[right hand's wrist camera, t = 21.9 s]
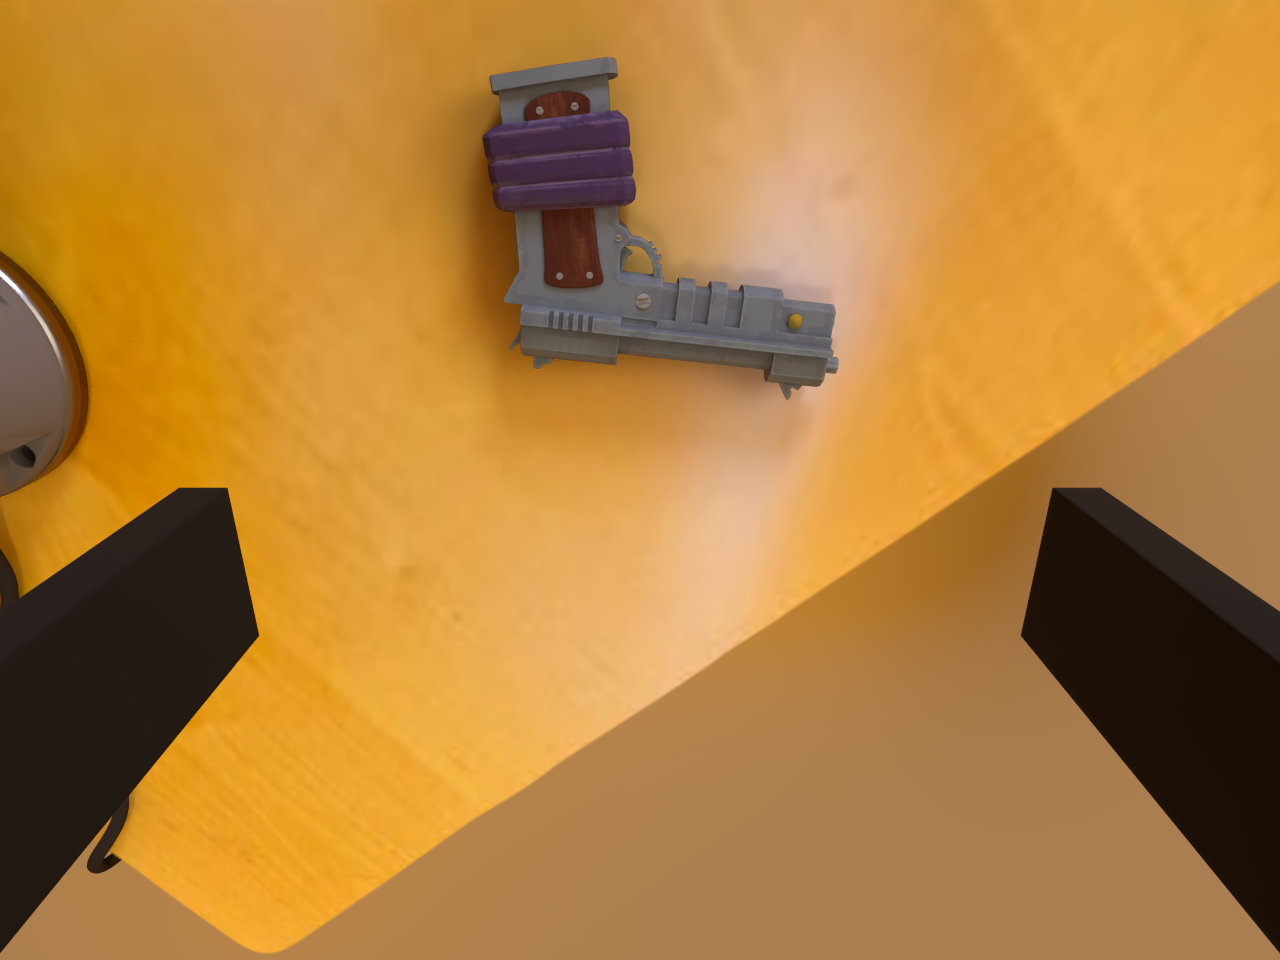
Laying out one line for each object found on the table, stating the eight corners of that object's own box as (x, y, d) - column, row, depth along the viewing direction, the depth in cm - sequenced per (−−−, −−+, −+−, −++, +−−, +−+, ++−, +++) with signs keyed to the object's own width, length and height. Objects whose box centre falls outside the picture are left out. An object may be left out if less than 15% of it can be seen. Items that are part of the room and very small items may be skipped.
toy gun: (881, 98, 38) (820, 394, 43) (497, 50, 37) (486, 358, 43) (906, 91, 34) (836, 414, 40) (482, 37, 33) (472, 375, 39)
